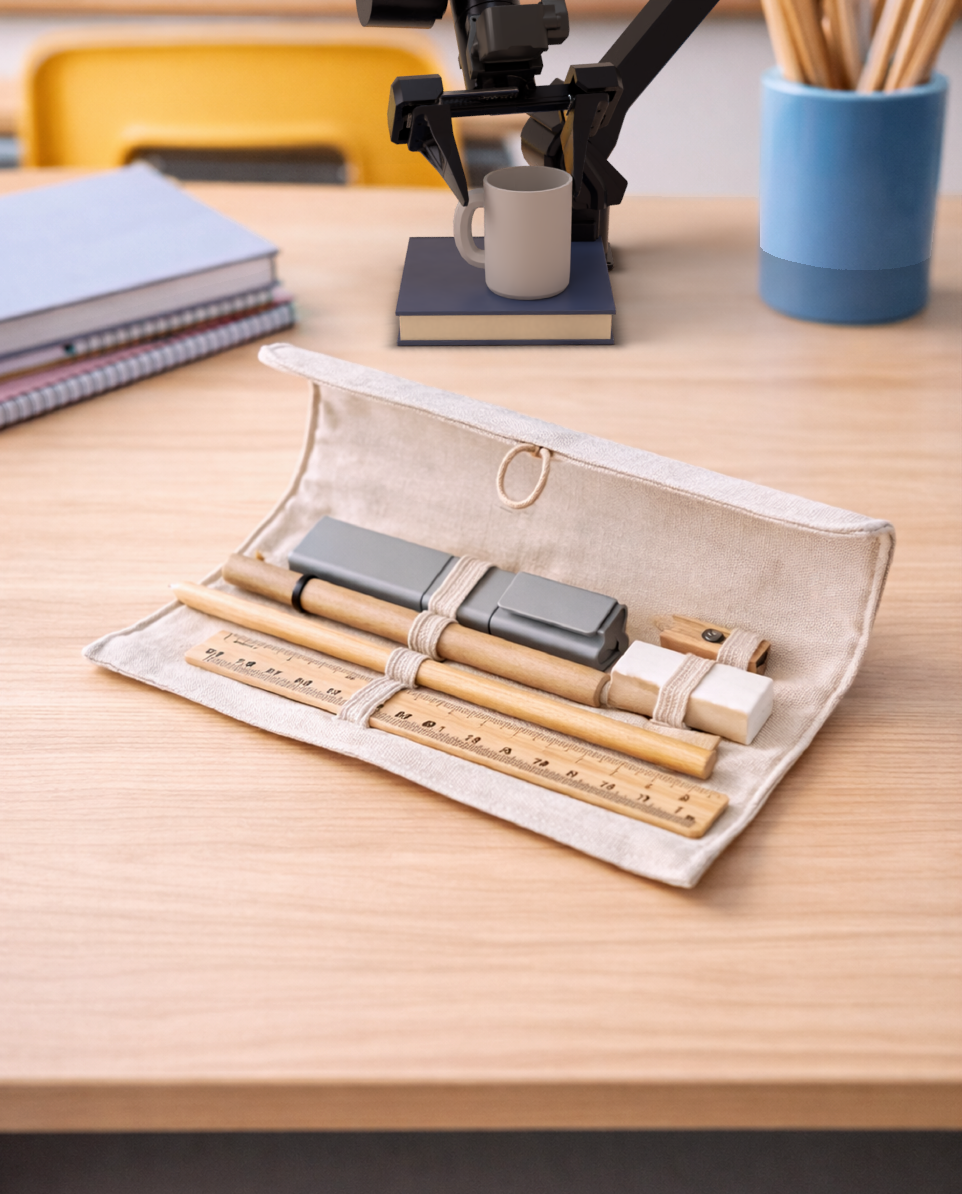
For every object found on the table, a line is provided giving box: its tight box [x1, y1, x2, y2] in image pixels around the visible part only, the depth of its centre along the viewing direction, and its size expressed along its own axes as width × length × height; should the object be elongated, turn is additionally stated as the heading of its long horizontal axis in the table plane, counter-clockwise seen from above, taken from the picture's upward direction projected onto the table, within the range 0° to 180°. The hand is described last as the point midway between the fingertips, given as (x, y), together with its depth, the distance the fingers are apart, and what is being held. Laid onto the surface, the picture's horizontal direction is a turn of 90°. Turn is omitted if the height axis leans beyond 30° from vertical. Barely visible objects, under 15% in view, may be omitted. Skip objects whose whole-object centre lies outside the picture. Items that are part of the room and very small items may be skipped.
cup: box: [452, 165, 572, 300], centre depth 99 cm, size 7×10×9 cm
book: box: [394, 235, 617, 347], centre depth 105 cm, size 18×18×3 cm
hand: (522, 199), depth 96 cm, fingers open, 9 cm apart
